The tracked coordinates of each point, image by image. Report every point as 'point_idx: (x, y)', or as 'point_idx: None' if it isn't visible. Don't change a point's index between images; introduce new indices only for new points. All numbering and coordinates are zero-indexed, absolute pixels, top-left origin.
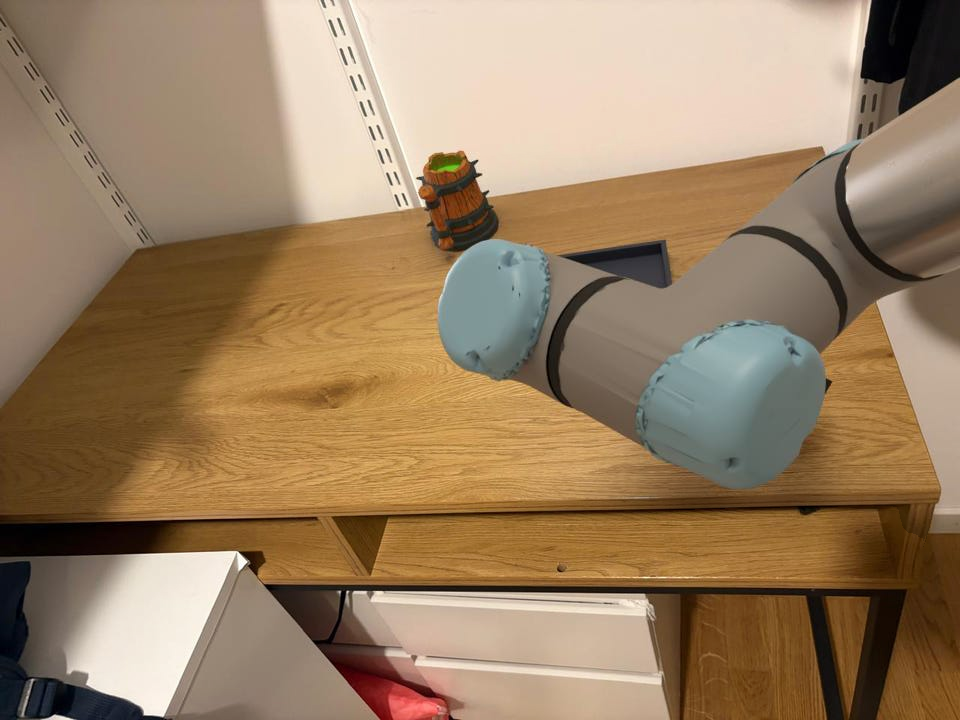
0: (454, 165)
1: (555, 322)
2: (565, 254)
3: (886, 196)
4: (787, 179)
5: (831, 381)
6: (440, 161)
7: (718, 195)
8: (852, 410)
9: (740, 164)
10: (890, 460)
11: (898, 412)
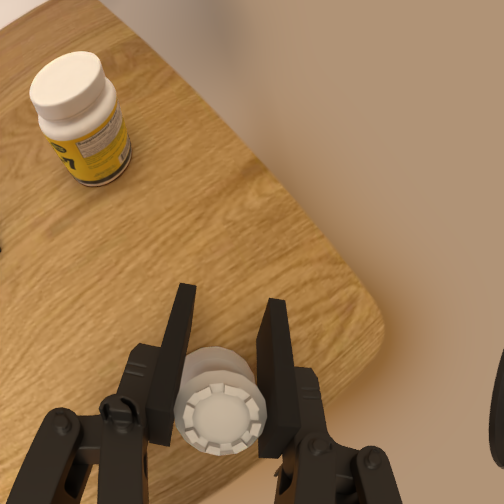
0: None
1: None
2: None
3: None
4: (64, 10)
5: (285, 304)
6: None
7: (5, 51)
8: (283, 278)
9: (21, 19)
10: (357, 329)
11: (328, 251)
